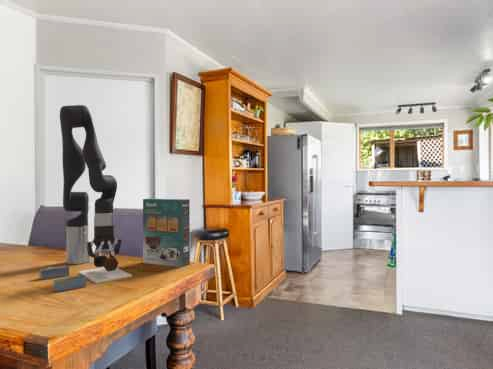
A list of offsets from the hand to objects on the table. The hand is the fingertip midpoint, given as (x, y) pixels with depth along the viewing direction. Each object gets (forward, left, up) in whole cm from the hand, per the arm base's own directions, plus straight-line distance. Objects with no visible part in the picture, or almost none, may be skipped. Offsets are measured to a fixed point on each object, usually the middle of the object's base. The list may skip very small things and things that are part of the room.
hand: (104, 265), depth 145 cm
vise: (+16, -3, -4) cm, 16 cm away
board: (0, 0, -4) cm, 4 cm away
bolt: (0, 0, -1) cm, 1 cm away
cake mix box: (-29, -2, -4) cm, 30 cm away
